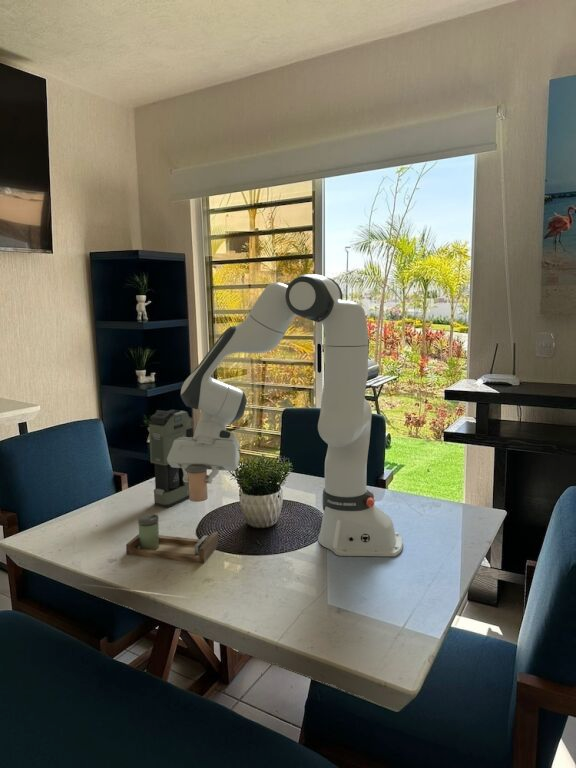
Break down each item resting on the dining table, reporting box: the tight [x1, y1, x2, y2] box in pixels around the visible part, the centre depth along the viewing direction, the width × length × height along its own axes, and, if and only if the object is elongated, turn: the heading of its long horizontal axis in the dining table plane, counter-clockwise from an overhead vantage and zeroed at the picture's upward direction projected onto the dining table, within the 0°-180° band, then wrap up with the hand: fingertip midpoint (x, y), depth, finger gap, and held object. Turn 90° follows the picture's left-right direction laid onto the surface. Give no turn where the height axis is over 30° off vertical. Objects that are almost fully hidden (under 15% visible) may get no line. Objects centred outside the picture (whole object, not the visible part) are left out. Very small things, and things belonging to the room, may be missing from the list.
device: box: [148, 409, 195, 509], centre depth 175 cm, size 14×8×30 cm, turn 150°
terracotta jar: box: [187, 464, 209, 503], centre depth 149 cm, size 5×5×9 cm
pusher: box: [194, 535, 209, 555], centre depth 139 cm, size 2×6×3 cm, turn 167°
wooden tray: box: [125, 531, 219, 564], centre depth 141 cm, size 21×10×4 cm, turn 77°
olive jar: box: [137, 514, 160, 550], centre depth 142 cm, size 5×5×8 cm
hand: (196, 482), depth 148 cm, fingers closed on terracotta jar, 5 cm apart
